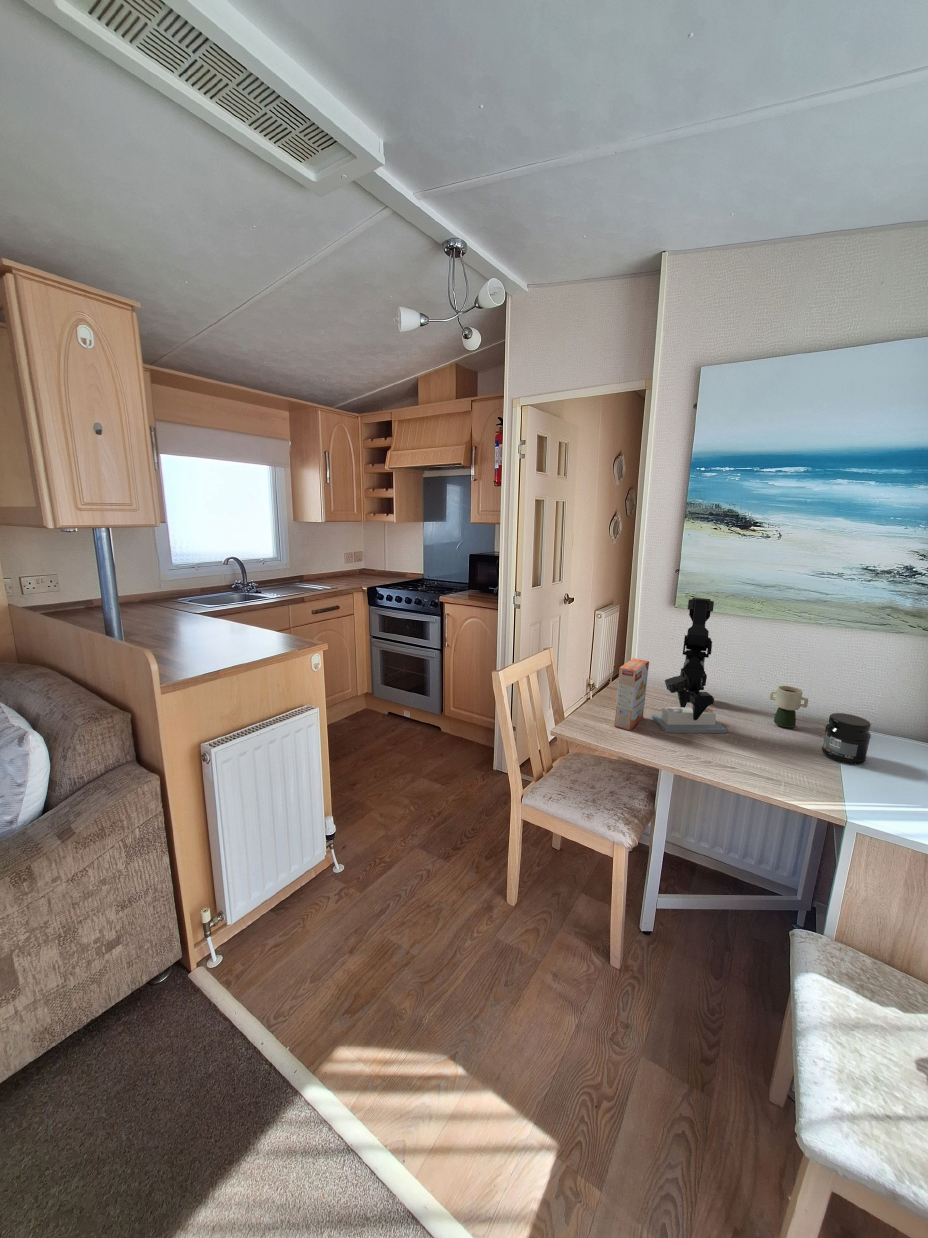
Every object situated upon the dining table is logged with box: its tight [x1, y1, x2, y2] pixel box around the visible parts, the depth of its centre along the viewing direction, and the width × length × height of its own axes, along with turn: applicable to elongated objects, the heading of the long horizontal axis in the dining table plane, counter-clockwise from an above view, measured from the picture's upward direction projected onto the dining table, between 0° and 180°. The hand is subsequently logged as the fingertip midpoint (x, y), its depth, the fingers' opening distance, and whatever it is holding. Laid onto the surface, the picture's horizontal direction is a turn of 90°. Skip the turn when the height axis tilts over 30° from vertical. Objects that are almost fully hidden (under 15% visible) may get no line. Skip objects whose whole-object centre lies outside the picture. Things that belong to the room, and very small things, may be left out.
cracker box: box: [613, 658, 650, 731], centre depth 165 cm, size 14×6×21 cm, turn 143°
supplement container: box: [821, 712, 872, 765], centre depth 143 cm, size 10×10×12 cm
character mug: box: [769, 685, 809, 728], centre depth 165 cm, size 11×7×13 cm, turn 45°
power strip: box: [660, 706, 717, 725], centre depth 165 cm, size 5×16×4 cm, turn 91°
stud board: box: [650, 710, 727, 734], centre depth 165 cm, size 12×20×5 cm, turn 91°
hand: (688, 714), depth 165 cm, fingers open, 9 cm apart
